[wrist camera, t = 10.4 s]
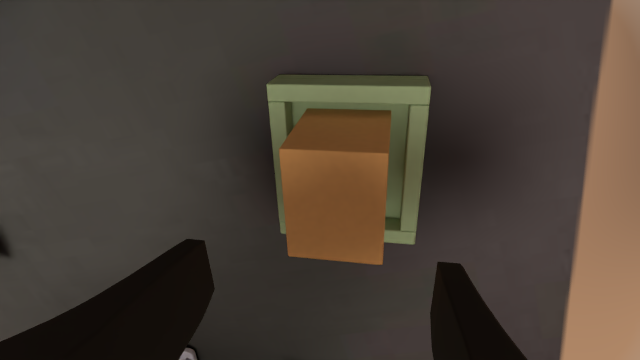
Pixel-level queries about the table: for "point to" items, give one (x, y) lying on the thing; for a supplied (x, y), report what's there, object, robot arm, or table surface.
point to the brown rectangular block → (336, 184)
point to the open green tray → (363, 94)
